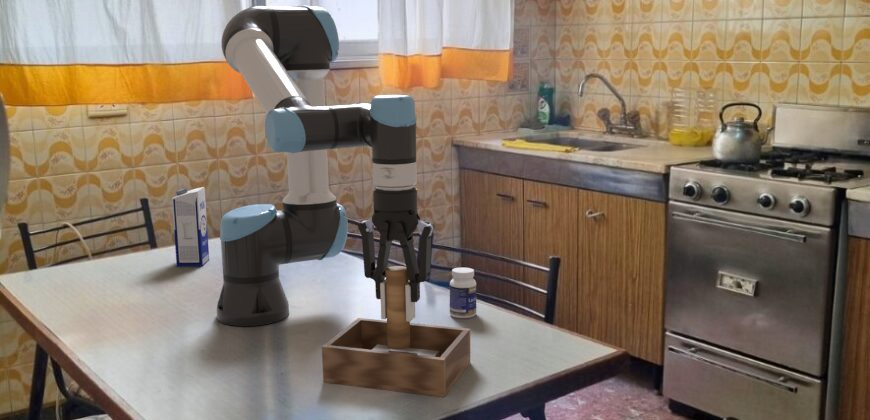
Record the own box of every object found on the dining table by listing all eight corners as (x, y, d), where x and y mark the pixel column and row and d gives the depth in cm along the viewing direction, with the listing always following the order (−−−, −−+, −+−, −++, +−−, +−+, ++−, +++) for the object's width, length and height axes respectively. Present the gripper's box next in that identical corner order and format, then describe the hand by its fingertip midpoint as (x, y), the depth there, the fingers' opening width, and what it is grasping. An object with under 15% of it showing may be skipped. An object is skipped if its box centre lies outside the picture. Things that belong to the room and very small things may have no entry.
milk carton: (202, 266, 229) (197, 190, 225) (176, 266, 229) (170, 190, 225) (209, 259, 236) (204, 185, 232) (184, 259, 236) (179, 185, 232)
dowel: (392, 341, 159) (390, 265, 156) (413, 343, 158) (411, 266, 155) (384, 348, 155) (382, 271, 152) (405, 350, 154) (403, 272, 151)
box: (323, 382, 154) (321, 346, 152) (359, 350, 169) (358, 317, 167) (444, 397, 147) (443, 360, 146) (470, 362, 162) (470, 328, 161)
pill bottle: (474, 320, 186) (474, 274, 183) (447, 318, 187) (447, 272, 185) (478, 311, 191) (478, 266, 189) (452, 310, 192) (452, 265, 190)
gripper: (340, 188, 150) (345, 320, 155) (435, 192, 145) (437, 328, 149) (357, 181, 157) (361, 307, 162) (449, 184, 152) (450, 315, 156)
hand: (398, 317), depth 155 cm, fingers closed on dowel, 4 cm apart
